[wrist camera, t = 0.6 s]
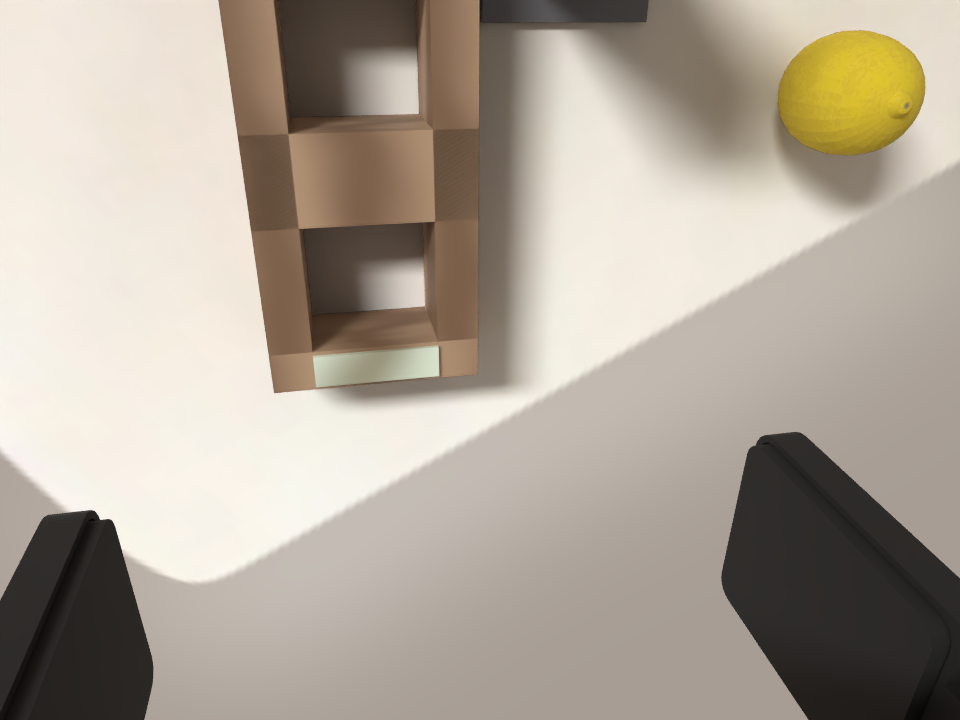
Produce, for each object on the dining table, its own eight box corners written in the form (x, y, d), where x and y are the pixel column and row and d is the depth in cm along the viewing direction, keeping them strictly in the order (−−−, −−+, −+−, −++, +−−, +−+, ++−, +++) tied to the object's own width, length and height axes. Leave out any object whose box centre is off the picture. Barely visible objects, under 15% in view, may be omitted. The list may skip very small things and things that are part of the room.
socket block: (458, -79, 32) (480, -90, 28) (461, 336, 41) (478, 375, 37) (218, -85, 30) (204, -97, 26) (277, 352, 39) (273, 395, 35)
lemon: (795, 158, 40) (897, 193, 33) (728, 100, 38) (822, 126, 31) (865, 68, 38) (987, 85, 32) (799, 3, 36) (916, 5, 29)
